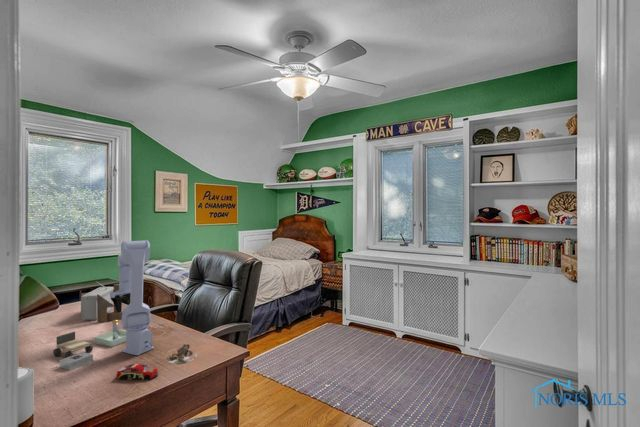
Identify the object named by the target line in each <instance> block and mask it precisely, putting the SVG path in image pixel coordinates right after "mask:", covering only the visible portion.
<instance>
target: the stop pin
mask: <svg viewBox="0 0 640 427" xmlns="http://www.w3.org/2000/svg"><path fill="white" fill-rule="evenodd" d="M118 329H119V319H118V320H113V321H112V331H113V340H115V339H118Z"/></svg>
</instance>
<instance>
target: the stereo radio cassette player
mask: <svg viewBox="0 0 640 427" xmlns="http://www.w3.org/2000/svg"><path fill="white" fill-rule="evenodd" d="M95 283H97V284H99V287H97V288H96V289H93V290H91V291H89V292H87V293H85V294H84V295H82V296H81V298H80V317H81V320H83V321H85V322H86V321H97V294H99V295H100V296H101V297H103V298H104V299H106V300H107V301H108V302H110V303H111V304H113V301H112V300H111V297H110V293H112V292H113V291H114V286H105V285H103V284H101V283H100V282H98V281H95ZM112 309H113V307H109V308H107V313H110V312H111V311H112Z"/></svg>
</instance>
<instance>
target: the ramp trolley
mask: <svg viewBox="0 0 640 427" xmlns="http://www.w3.org/2000/svg"><path fill="white" fill-rule="evenodd" d="M83 348H84V350H85V351H84V352H85V353H90V352H92V351H93V350H94V348H93V345H92V343H90V342H88V341H83V340H79V339H77V338H76V331H71V332H68V333H65V334H62V335H59V336H56V348H54V349H53V352H52V353H53V356H54V357H56V358H57V357H60V356H61V355H62V350H66V352H64V358H67V357H70V356H73V355H74V354H73V352H75V351H79V350H81V349H83ZM61 349H62V350H61Z"/></svg>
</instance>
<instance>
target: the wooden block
mask: <svg viewBox="0 0 640 427" xmlns="http://www.w3.org/2000/svg"><path fill="white" fill-rule="evenodd" d="M113 287H114V290H113V292H115V291H118V290H119V283H114V284H113ZM121 297H122V298H123V295H121ZM122 304H123V303H122ZM122 304H121V312H117V311H116V308H115V305H114V303H112V304H111V303H110V302H108V301H107V300H106V299H104V298H103V297H101V296H100V295H99V294H97V320H96V322H97V323H99V324H103V323H108V322H113V320H118V321H119V320H122V313H123V305H122ZM109 307H112V308H113V311H112V312H111V311H109V312H107V308H109Z"/></svg>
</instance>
